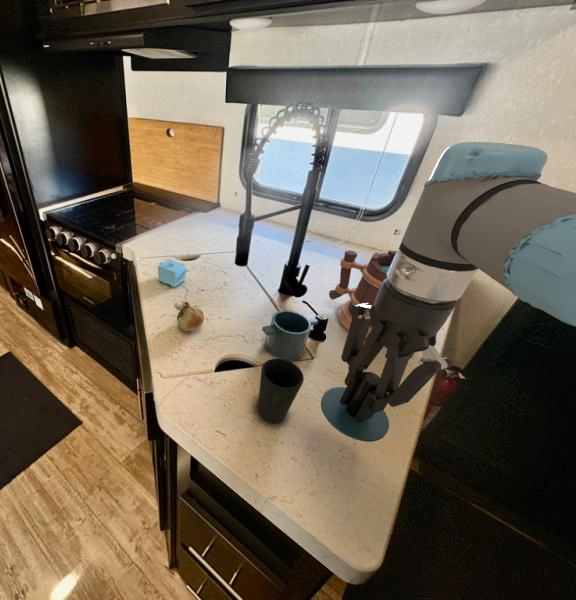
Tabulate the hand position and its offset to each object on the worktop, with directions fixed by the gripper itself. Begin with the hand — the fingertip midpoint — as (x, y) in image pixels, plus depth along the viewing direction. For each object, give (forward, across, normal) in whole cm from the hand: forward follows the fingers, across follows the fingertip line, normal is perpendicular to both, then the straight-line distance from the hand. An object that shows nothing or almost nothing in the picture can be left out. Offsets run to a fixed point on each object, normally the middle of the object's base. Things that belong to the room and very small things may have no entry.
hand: (355, 409), depth 50 cm
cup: (+13, -11, -6) cm, 19 cm away
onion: (+13, -42, -13) cm, 46 cm away
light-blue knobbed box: (+13, -66, -10) cm, 68 cm away
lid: (+1, 0, 0) cm, 1 cm away
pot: (+13, -27, +8) cm, 31 cm away
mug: (+13, -30, +37) cm, 49 cm away
